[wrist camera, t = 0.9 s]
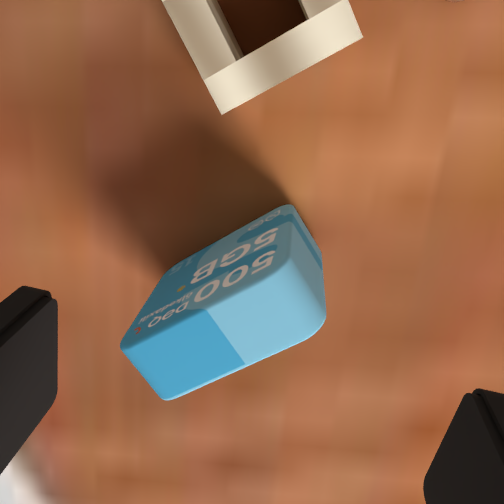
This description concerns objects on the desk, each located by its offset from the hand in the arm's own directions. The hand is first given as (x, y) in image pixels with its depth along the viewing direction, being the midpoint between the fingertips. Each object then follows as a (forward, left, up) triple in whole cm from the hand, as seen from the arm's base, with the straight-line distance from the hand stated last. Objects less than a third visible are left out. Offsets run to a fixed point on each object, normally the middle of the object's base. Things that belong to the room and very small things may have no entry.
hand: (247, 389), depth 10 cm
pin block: (-3, -10, -25) cm, 27 cm away
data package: (+7, +5, -25) cm, 27 cm away
